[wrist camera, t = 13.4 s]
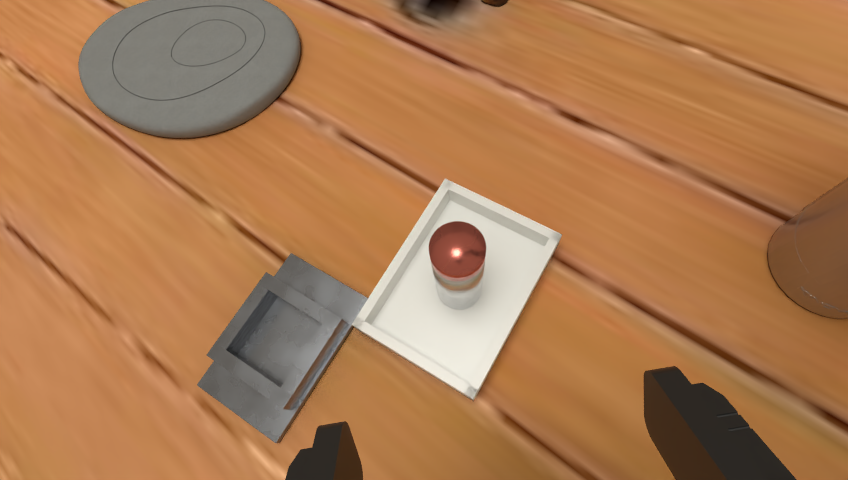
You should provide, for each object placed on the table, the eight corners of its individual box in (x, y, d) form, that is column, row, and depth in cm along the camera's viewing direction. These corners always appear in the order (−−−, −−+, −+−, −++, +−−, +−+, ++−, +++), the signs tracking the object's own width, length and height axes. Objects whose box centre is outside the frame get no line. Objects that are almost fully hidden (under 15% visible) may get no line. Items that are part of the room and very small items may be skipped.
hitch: (294, 255, 46) (282, 244, 44) (370, 300, 44) (363, 292, 41) (201, 385, 43) (182, 382, 40) (279, 443, 40) (264, 443, 38)
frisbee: (116, 7, 63) (101, -10, 60) (315, 1, 59) (308, -17, 57) (61, 140, 55) (42, 127, 53) (285, 143, 52) (275, 129, 49)
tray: (447, 193, 47) (445, 178, 44) (557, 246, 44) (562, 234, 41) (359, 331, 43) (351, 324, 40) (473, 401, 40) (473, 399, 37)
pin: (452, 258, 44) (448, 211, 34) (490, 280, 43) (497, 238, 33) (428, 294, 43) (417, 256, 33) (467, 318, 42) (467, 285, 32)
